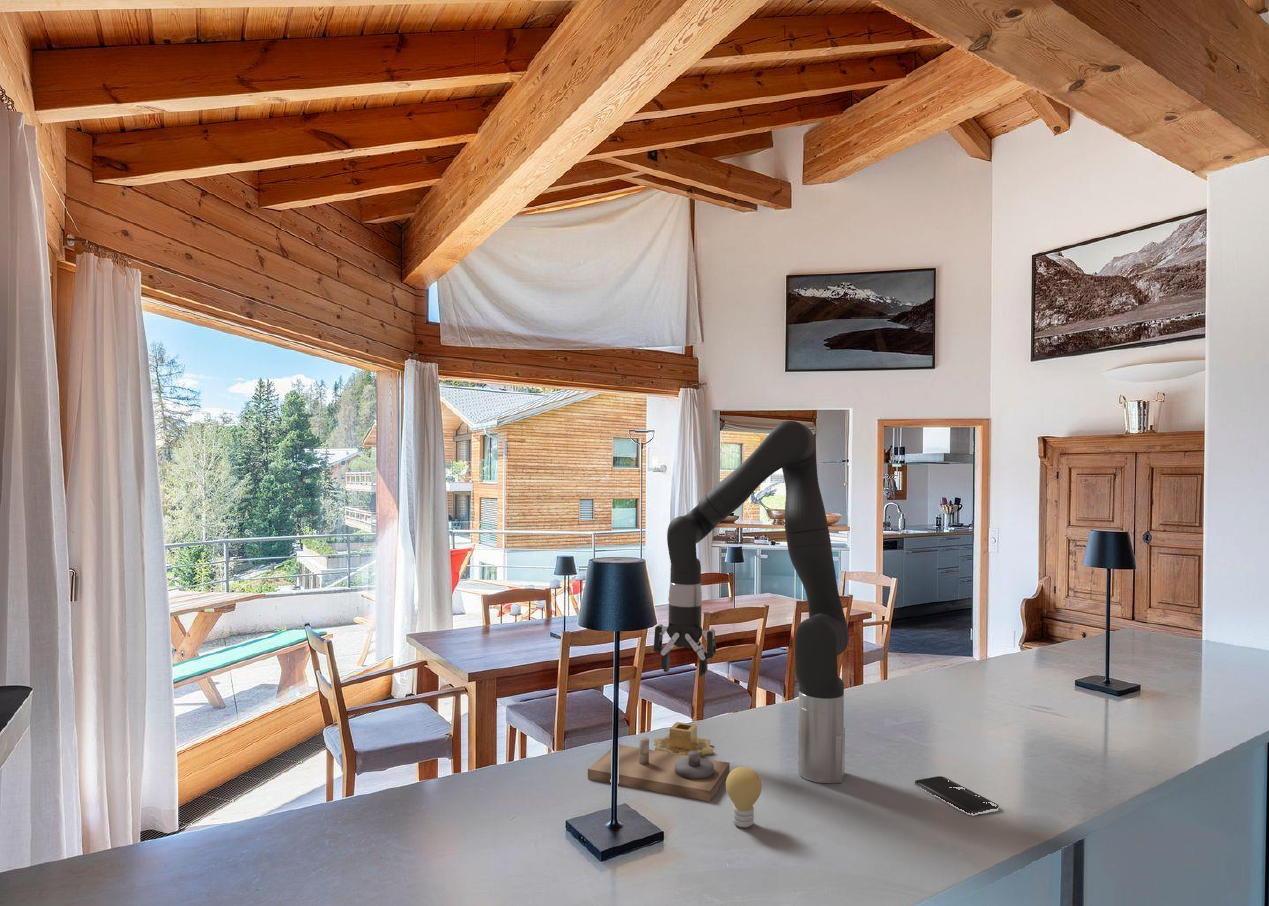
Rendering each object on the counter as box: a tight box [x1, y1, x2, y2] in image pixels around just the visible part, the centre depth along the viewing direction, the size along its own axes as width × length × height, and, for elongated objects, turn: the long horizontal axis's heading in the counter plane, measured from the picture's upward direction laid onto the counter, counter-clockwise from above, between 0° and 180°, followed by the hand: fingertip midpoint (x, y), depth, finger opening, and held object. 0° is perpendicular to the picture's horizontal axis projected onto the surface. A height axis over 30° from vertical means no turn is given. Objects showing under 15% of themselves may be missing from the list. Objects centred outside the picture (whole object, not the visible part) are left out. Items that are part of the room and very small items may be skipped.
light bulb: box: [725, 766, 762, 829], centre depth 131 cm, size 6×6×10 cm
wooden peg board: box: [587, 736, 731, 802], centre depth 152 cm, size 26×15×7 cm, turn 68°
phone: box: [914, 775, 1000, 814], centre depth 144 cm, size 8×1×15 cm
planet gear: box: [653, 721, 714, 758], centre depth 167 cm, size 14×14×5 cm
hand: (684, 673), depth 167 cm, fingers open, 8 cm apart
